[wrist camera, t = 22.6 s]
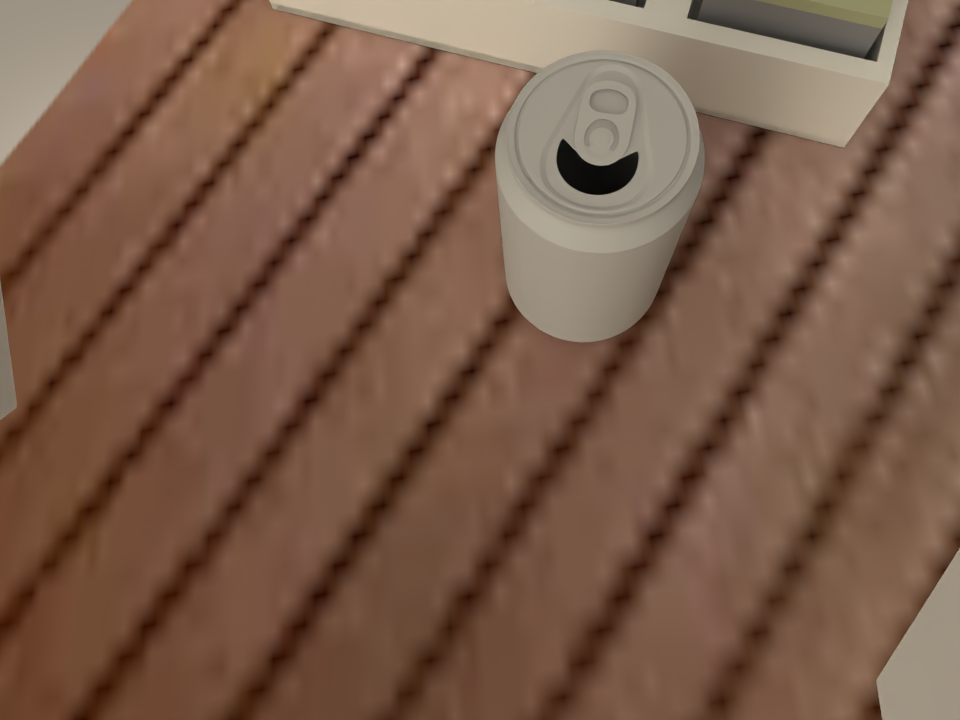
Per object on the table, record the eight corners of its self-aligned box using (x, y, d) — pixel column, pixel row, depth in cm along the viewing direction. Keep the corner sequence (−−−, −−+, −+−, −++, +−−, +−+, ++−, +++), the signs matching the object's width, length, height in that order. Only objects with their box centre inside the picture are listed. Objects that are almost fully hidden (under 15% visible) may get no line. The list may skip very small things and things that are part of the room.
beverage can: (491, 331, 37) (471, 215, 25) (522, 191, 38) (517, 21, 27) (643, 361, 36) (695, 255, 25) (669, 217, 38) (729, 54, 26)
